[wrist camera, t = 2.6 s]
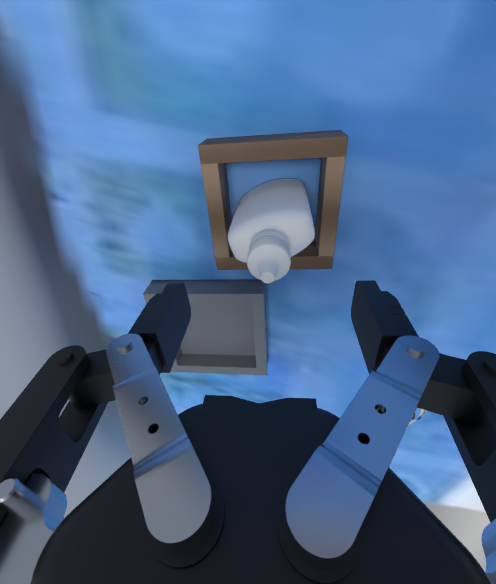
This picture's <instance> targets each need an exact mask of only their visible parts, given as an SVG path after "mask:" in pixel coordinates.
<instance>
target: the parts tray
mask: <svg viewBox="0 0 496 584" xmlns="http://www.w3.org/2000/svg"><path fill="white" fill-rule="evenodd" d="M167 283H184V284H185V286H186V290H187V294H188V299H189V303H190V307H191V319H190V322H189V325H188V327H187V330H186V333H185V335H184V338H183V340H182V343H181V345H180V348H179V351H178V353H177V356H176V358H175V361H174V363H173V366H172V369H171V372H196V373H225V374H255V375H267V365H268V352H267V328H266V304H265V283H264V282H263V281H262V280H152V281H151V283H150V284H149V286H148V287H147V289H146V290H145V292H144V293H143V295H144V298H145V301H146V304H147V303H148V301H149V300H150V299H151V298H152V297H153V296H155V295H156V294H157V293H162V291H163V290H164V288H165V286H166V285H167Z"/></svg>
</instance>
